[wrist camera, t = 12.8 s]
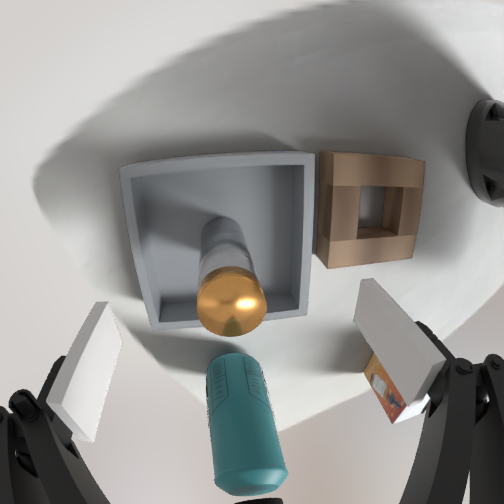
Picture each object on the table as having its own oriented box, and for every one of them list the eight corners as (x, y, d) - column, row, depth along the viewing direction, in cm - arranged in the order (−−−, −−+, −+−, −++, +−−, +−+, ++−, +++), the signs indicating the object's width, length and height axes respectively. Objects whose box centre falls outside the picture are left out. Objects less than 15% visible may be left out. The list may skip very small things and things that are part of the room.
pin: (242, 214, 23) (266, 276, 13) (244, 254, 24) (267, 332, 15) (198, 218, 22) (191, 283, 13) (203, 258, 24) (202, 339, 14)
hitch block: (406, 157, 24) (425, 161, 21) (396, 247, 28) (412, 258, 25) (319, 151, 22) (333, 153, 20) (316, 255, 27) (327, 269, 24)
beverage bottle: (196, 350, 29) (202, 524, 11) (252, 335, 29) (295, 512, 11) (216, 383, 32) (232, 531, 14) (266, 370, 32) (306, 518, 14)
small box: (379, 333, 33) (419, 387, 23) (409, 328, 34) (449, 376, 24) (362, 373, 36) (391, 425, 27) (390, 367, 37) (421, 414, 27)
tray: (298, 150, 22) (314, 153, 19) (295, 292, 28) (306, 315, 24) (133, 163, 21) (118, 168, 17) (158, 305, 26) (152, 330, 23)
